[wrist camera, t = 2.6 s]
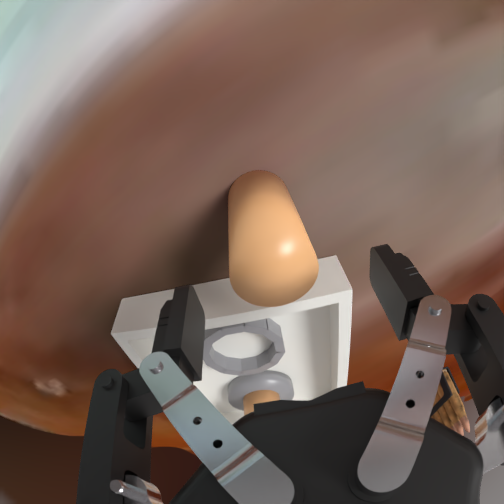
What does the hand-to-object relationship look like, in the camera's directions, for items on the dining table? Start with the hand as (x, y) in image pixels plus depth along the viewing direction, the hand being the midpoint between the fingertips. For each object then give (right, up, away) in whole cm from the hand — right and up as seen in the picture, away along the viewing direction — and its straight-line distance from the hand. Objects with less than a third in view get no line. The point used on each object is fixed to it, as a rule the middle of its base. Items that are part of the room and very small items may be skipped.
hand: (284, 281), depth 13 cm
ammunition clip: (+28, -21, +27) cm, 44 cm away
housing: (-1, -10, +17) cm, 19 cm away
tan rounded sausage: (-1, +5, +7) cm, 8 cm away
